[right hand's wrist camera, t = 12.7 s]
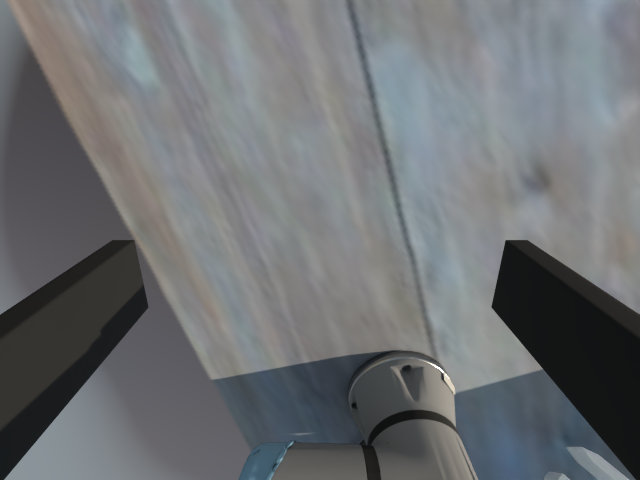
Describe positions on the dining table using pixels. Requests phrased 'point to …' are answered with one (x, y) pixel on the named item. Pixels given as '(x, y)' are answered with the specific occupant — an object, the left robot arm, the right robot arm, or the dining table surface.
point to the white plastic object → (590, 466)
